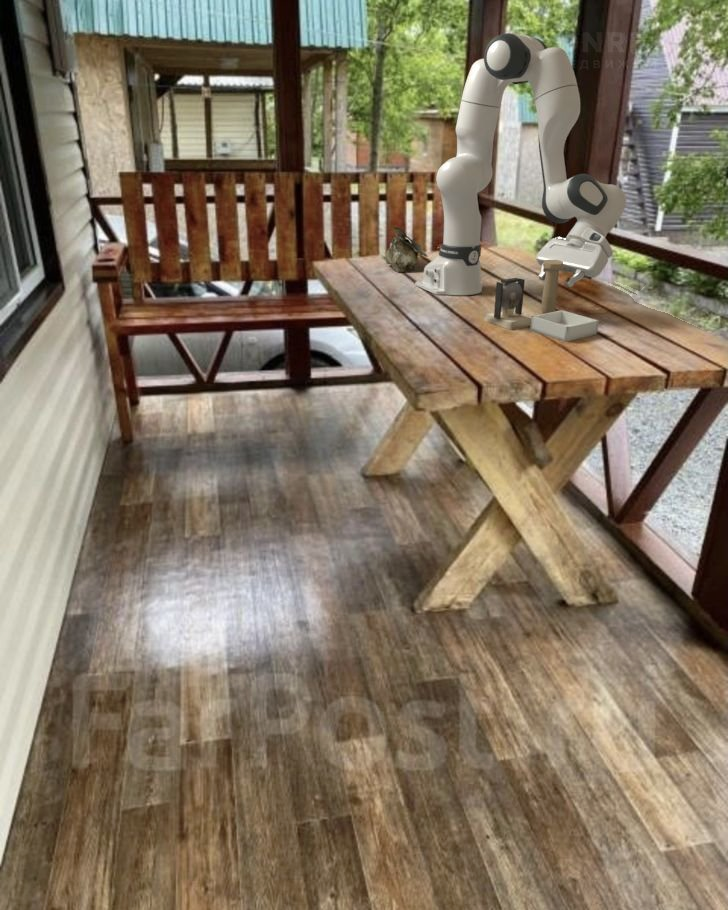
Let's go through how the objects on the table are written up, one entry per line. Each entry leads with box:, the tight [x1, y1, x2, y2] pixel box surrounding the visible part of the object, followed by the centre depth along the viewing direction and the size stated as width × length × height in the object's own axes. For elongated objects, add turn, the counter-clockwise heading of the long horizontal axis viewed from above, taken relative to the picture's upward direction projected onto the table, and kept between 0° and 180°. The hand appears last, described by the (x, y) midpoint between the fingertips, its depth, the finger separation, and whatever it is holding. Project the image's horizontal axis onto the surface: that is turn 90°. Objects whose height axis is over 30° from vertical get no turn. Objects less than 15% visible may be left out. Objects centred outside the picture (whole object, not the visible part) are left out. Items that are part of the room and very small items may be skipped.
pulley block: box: [484, 277, 531, 331], centre depth 192 cm, size 10×8×12 cm
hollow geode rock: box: [384, 226, 429, 273], centre depth 262 cm, size 28×13×15 cm
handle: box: [540, 260, 563, 315], centre depth 197 cm, size 5×6×15 cm
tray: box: [529, 309, 599, 342], centre depth 186 cm, size 12×11×4 cm
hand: (554, 282), depth 196 cm, fingers open, 8 cm apart
